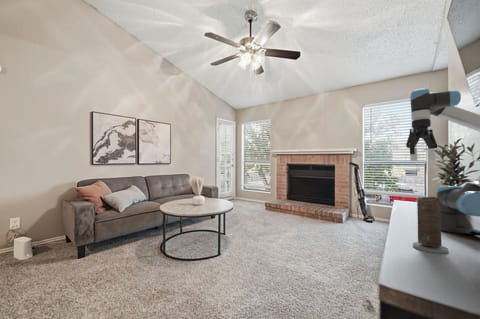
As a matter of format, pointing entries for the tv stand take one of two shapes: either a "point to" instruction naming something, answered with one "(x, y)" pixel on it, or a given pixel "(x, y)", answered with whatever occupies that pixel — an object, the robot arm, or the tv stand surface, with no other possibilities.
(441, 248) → the coaster
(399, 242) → the tv stand surface
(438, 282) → the tv stand surface
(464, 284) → the tv stand surface
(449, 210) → the robot arm
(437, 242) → the candle
